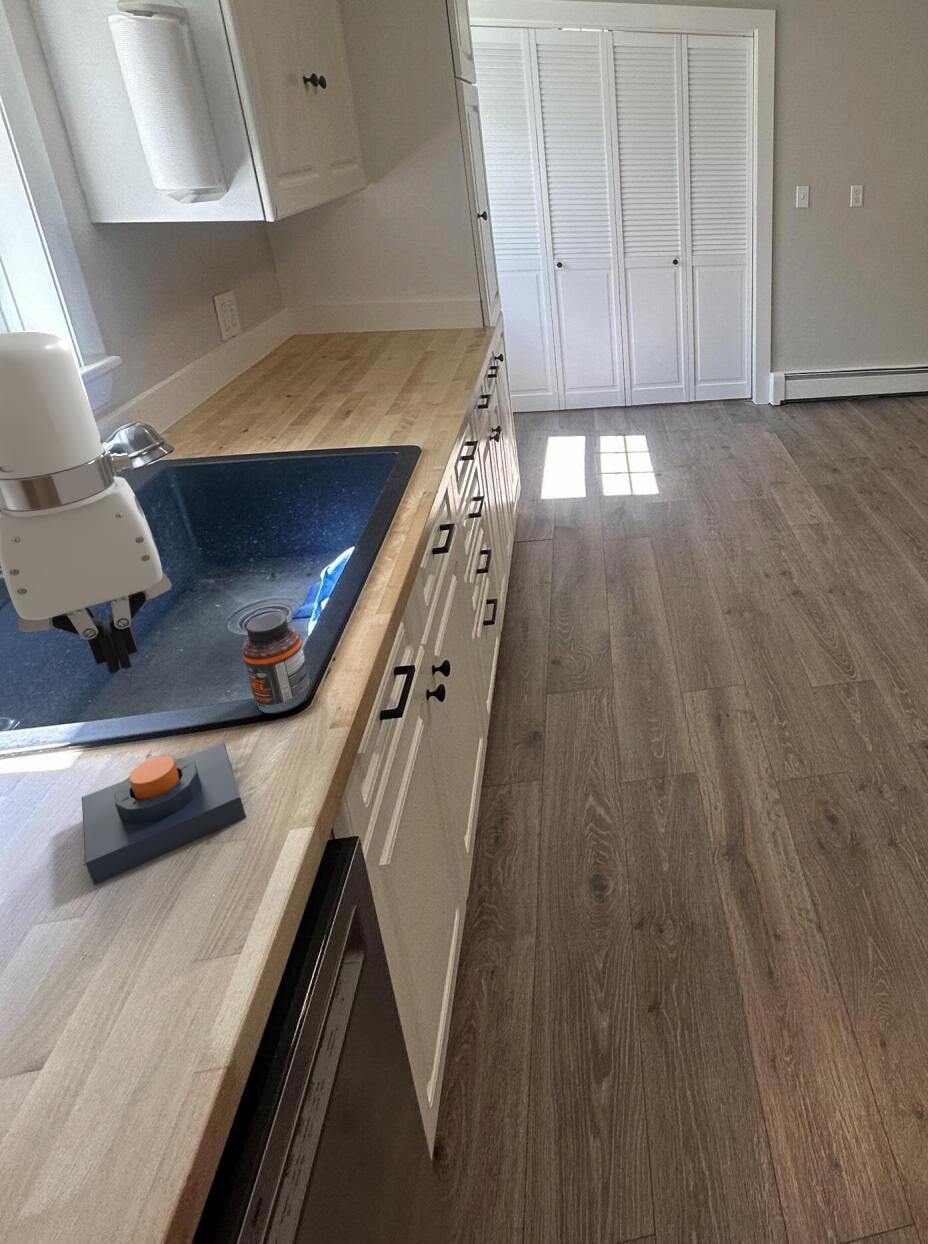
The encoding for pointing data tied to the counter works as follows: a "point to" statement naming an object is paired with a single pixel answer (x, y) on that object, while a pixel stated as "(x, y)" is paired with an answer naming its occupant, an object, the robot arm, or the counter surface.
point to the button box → (159, 815)
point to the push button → (154, 777)
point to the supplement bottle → (274, 659)
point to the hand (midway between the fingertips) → (120, 663)
